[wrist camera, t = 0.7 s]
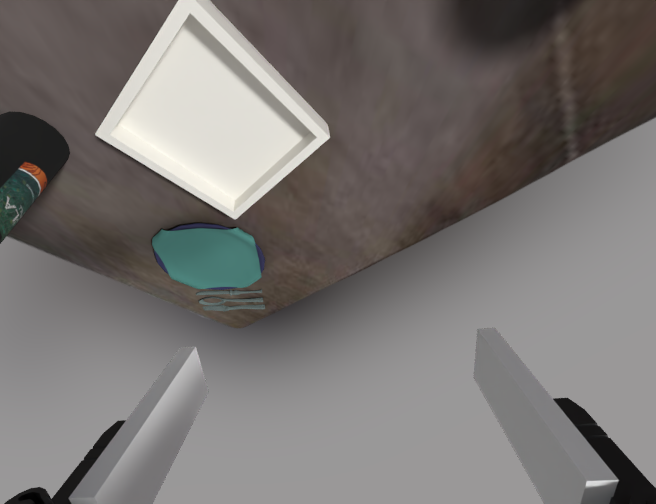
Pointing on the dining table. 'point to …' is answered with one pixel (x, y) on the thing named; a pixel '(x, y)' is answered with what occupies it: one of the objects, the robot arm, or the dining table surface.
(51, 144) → the wine bottle
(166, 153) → the tray
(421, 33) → the dining table surface
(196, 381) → the robot arm
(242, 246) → the cutlery set
